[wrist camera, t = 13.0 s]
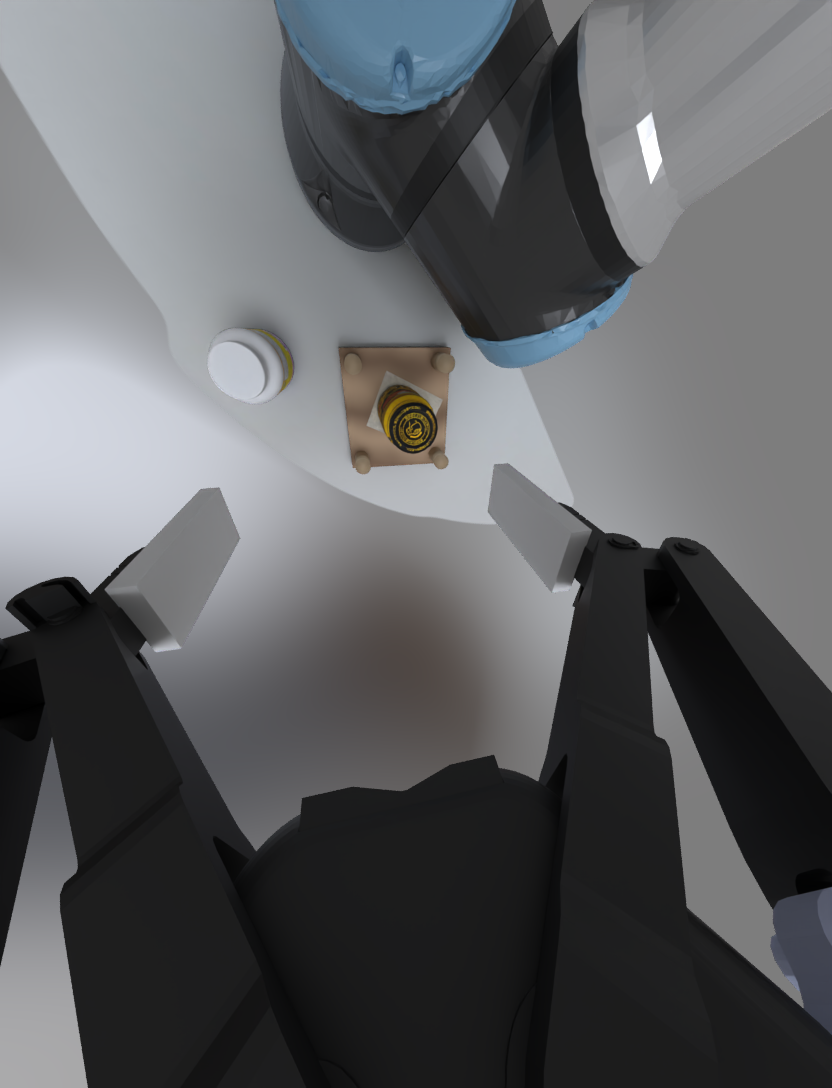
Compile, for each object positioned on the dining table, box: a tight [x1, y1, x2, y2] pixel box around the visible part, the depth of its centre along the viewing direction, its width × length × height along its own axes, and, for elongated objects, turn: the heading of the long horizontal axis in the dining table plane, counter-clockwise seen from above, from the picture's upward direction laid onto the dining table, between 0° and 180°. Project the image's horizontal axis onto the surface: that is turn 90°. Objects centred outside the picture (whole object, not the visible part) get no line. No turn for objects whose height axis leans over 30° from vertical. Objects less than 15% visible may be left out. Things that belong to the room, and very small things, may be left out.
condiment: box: [367, 371, 443, 454], centre depth 37 cm, size 7×8×12 cm
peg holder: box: [339, 347, 455, 474], centre depth 41 cm, size 15×14×6 cm
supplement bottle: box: [207, 328, 294, 404], centre depth 33 cm, size 7×7×13 cm
